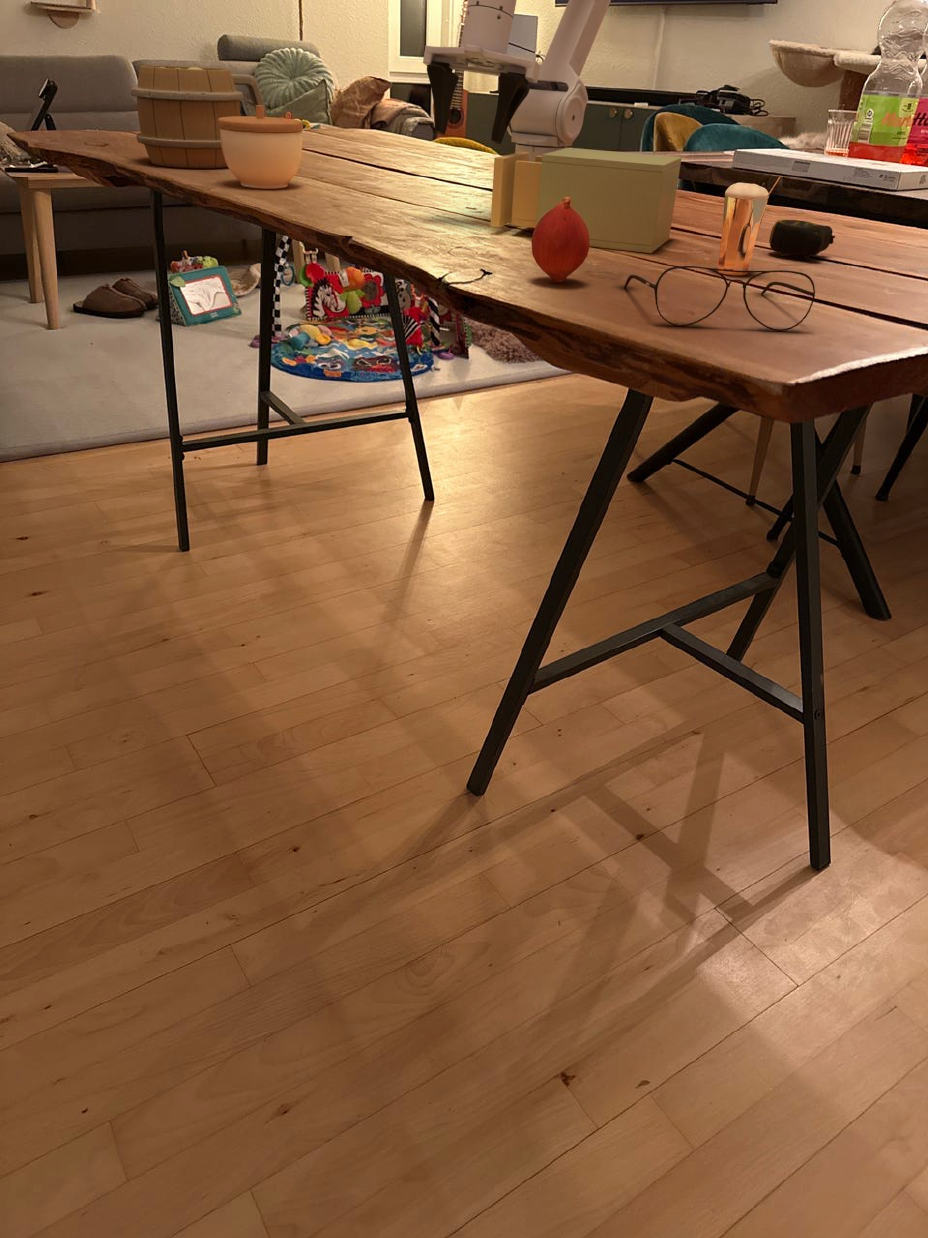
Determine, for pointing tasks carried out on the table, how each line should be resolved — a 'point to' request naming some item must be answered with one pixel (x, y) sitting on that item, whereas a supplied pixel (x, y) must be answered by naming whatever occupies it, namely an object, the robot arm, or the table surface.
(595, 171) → the cabinet
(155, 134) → the mug
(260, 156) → the lidded bowl
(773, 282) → the glasses
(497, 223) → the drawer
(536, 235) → the onion
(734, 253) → the milkshake
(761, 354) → the table surface
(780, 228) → the tape measure
